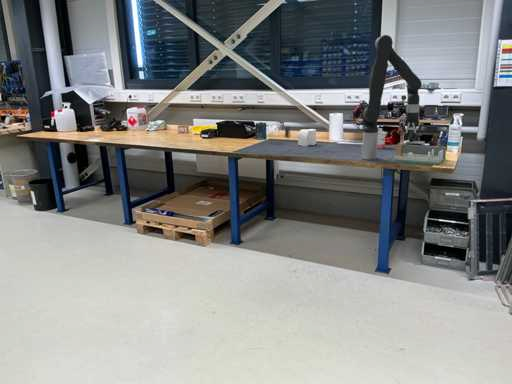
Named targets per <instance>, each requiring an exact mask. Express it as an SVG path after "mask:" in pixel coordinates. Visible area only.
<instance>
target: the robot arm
mask: <svg viewBox="0 0 512 384" xmlns="http://www.w3.org/2000/svg"><path fill="white" fill-rule="evenodd" d="M393 44H394V43H393V38H392V37H391V36H390V35H388V34H384V35H381V36H379V37H378V38H376V40H375V41H374V47H375V49H376V56H375V62H374V64H373V66H372V69H371V72H370V77H369V84H368V92H369V93H368V95H369V96H368V97H369V98H368V104H367V106H366V107H365V108H364V109H363V111H362V144H361V151H360V152H361V154H360V160H361V159H363V160H369V161H370V160H378V148H377V143H378V131H379V130H378V128H379V127H378V120H379V118H380V116H381V106H382V105H381V103H382V97H383V94H384V90H385V89H384V88H385V84H386V79H387V72H388V66H389V65H388V63H390V64H391V66H392V67H393V68H394V70H395V72H396V74H398V75H399V77H401V79H402V80H404V81H405V82H406V84H407V85H406V93H407V102H406V103H407V104H406V110H405V111H406V113H405V120H404V122H400V127H401V129H402V132H403V133H405V138H406V140H408V130H411V129H412V130H414V135H413V139H414V140H416V139H417V134H419V133H420V132H421V129H422V128H423V126H424V122H420V119H419V118H420V115H419V114H420V95H419V90H420V89H421V88H422V80H421V79H420V78H419V77H418V75H416V74H415V73H414V72H413V70H412V69H411V67H410V66H409V65H408V64H407V62H406V61H405V60H404V59H403V57H401V56H400V55H399V54H397V52H396V51H395V50H394V48H393ZM405 126H406V127H405ZM417 126H418V127H417Z"/></svg>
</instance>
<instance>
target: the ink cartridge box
mask: <svg viewBox="0 0 512 384" xmlns="http://www.w3.org/2000/svg"><path fill="white" fill-rule="evenodd" d="M385 142H386V131H383V128H381V127H378V143H377V149H384V148H385V145H386V143H385Z"/></svg>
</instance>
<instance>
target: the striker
mask: <svg viewBox="0 0 512 384" xmlns="http://www.w3.org/2000/svg"><path fill="white" fill-rule="evenodd" d="M413 135H414V130H413V129H409V130H408V139H407V140H403V141H400V142H399V143H397V146H396V149H395V151H396V153H395V156H403V146H404V145H408V144H412V145H416V144H417V145H424V144H425V141H423V140H422V141H421V140H417V141H416V140H415V139H413Z"/></svg>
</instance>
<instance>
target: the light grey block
mask: <svg viewBox="0 0 512 384" xmlns="http://www.w3.org/2000/svg"><path fill="white" fill-rule="evenodd" d="M315 144H316V145H317V129H316V128H308V129H300V130H299V133H298V136H297V146H298V145H301V146H300V147H309V146H308V145H314V146H315Z"/></svg>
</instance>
